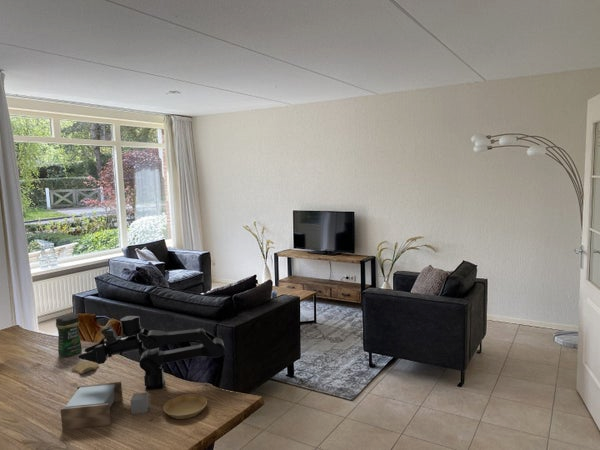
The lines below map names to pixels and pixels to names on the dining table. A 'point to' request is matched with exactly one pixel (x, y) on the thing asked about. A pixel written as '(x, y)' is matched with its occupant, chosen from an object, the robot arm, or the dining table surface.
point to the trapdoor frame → (90, 411)
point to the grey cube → (139, 403)
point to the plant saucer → (185, 406)
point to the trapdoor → (93, 396)
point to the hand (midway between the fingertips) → (81, 353)
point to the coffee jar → (68, 335)
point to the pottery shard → (85, 367)
